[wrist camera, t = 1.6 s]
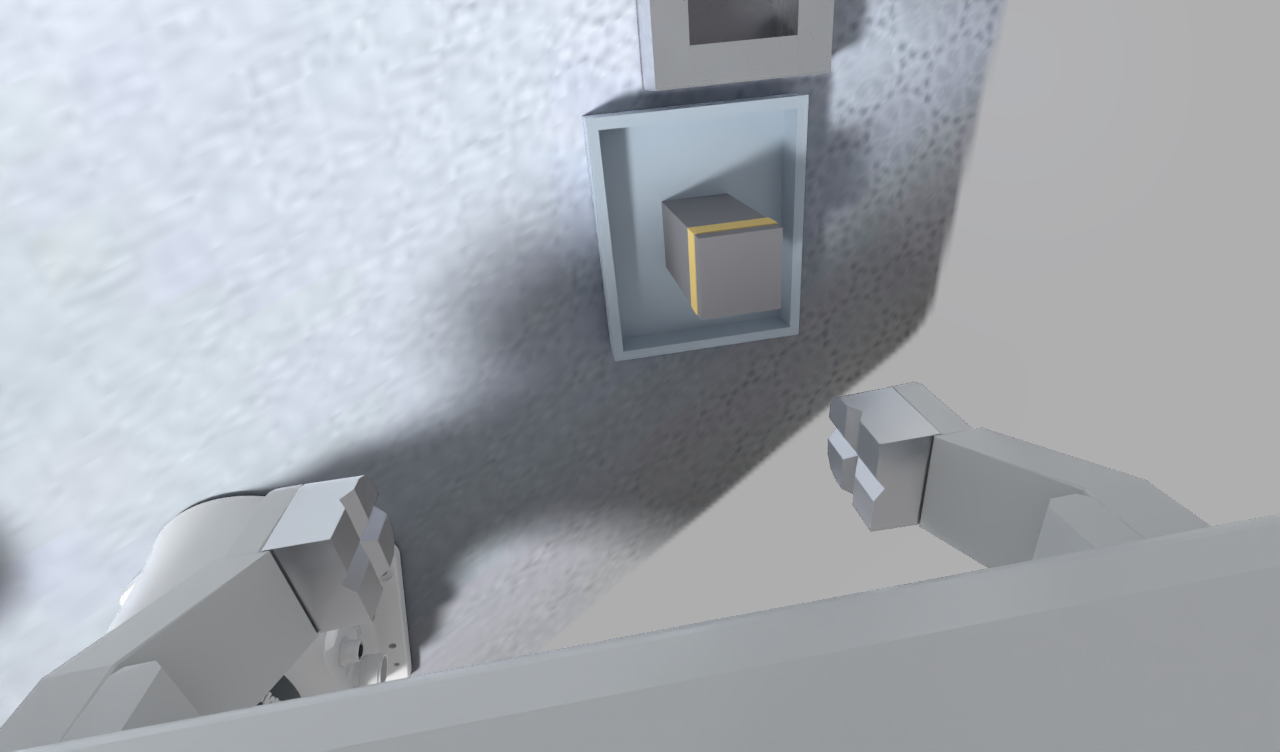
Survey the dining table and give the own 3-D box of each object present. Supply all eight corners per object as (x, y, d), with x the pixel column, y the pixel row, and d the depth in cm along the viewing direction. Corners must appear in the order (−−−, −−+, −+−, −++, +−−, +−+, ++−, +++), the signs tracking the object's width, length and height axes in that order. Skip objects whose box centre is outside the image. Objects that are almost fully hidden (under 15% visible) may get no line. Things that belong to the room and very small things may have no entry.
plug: (729, 259, 37) (781, 309, 29) (665, 267, 36) (700, 320, 28) (727, 192, 35) (783, 226, 27) (660, 200, 34) (697, 237, 27)
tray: (783, 319, 40) (798, 334, 38) (610, 345, 39) (615, 361, 37) (790, 93, 33) (808, 94, 31) (581, 115, 32) (585, 119, 30)
